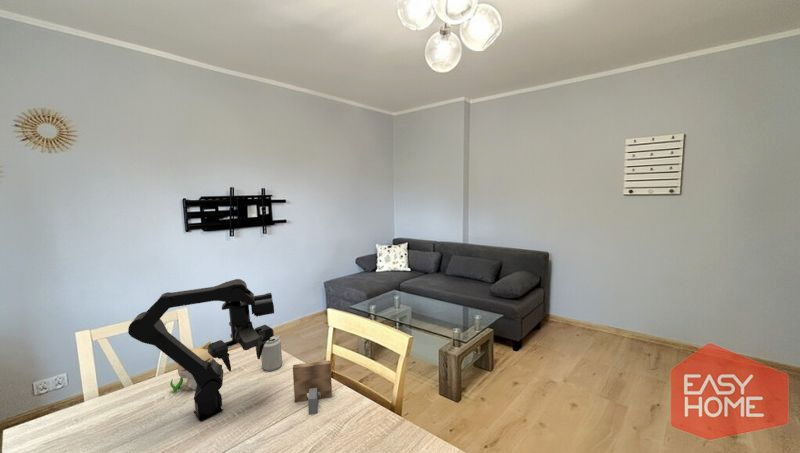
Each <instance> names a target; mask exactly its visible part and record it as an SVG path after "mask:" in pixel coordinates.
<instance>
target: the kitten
mask: <svg viewBox="0 0 800 453" xmlns="http://www.w3.org/2000/svg"><path fill="white" fill-rule="evenodd" d="M211 343H212V341H210V340H208V341H207V342H206V343H205V344H203V345H201V346H200V347H193V348H190V350H191V351H192V352H193V353H195V354H196V355H197V356H198V357H200V358H201V359H202V360H204V361H207V362H210V361H211V360H212V359H214V358H213V357H212V356H211V355H210V354H209V353H208V346H209V344H211ZM216 362H217V363H218V364H220V363H219V362H218V361H216ZM177 373H178V376H179V382H178V383H177V384H176V385H174V383H173V380H174V378H171V381H170V384H169V385H170V387H171V388H172V392H173V393H175V394H176V393H177V392H178V390H180V389H181V387H182V385H183V382H184V379H186V386H187V387H188V388H191V389H192V390H193V391H196V386H197V383H196V381H195V379H194V378H193V376H192V374H190V373H189V372H188V371H187V370H185V369H184V368H183V367H181V366H180V365H179V364H178V363H177Z"/></svg>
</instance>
